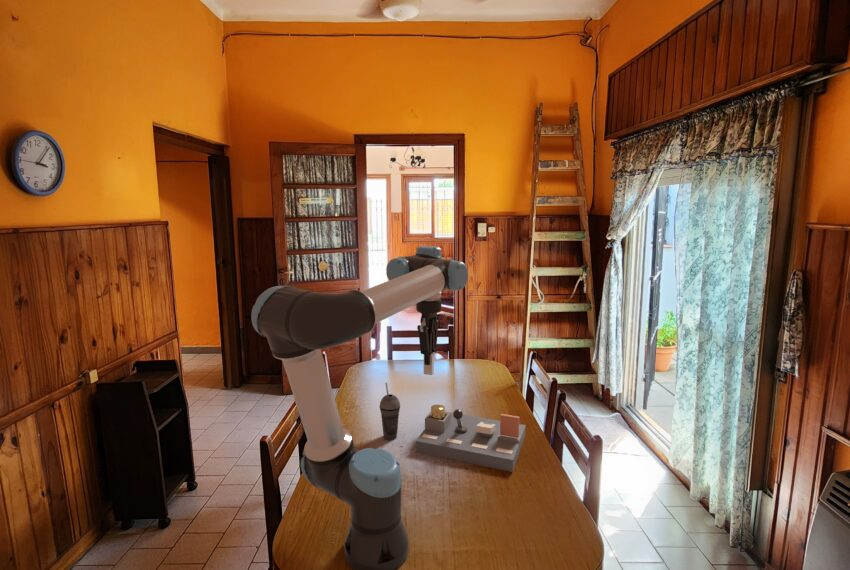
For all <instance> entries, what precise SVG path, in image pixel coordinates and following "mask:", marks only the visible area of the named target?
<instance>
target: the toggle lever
mask: <svg viewBox="0 0 850 570" xmlns="http://www.w3.org/2000/svg"><path fill="white" fill-rule="evenodd" d="M452 413H453V416H454V418H455V419H456V420H457V424H458V428H461V429H462V428H463V421H462V416H463V415H464V413H463V411H462V410H461V409H455V410H454V411H453V412H452Z"/></svg>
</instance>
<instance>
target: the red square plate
mask: <svg viewBox="0 0 850 570" xmlns="http://www.w3.org/2000/svg"><path fill="white" fill-rule="evenodd" d="M499 421H500V435H504V436H509V437H515V438H518V437H519V424H520V416H518V415H510V414H507V413H506V414H505V413H501V414H500V420H499Z"/></svg>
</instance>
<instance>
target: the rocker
mask: <svg viewBox="0 0 850 570" xmlns="http://www.w3.org/2000/svg"><path fill="white" fill-rule="evenodd" d="M494 431H495V424H491V423H485V422H480V423H479V424H478V425H476V432H480V433H485V434H492V433H493V432H494Z"/></svg>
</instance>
